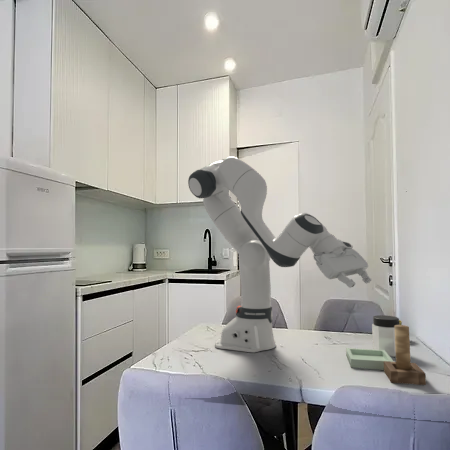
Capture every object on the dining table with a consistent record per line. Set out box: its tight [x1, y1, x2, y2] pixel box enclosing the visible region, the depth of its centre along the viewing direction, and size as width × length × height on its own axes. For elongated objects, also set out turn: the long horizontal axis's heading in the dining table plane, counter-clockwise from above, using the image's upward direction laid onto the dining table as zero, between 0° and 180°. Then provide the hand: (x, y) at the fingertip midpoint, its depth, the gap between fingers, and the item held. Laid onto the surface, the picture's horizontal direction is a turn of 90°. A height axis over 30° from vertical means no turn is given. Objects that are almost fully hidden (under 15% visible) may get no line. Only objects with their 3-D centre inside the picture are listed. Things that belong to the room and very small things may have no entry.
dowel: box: [394, 324, 412, 370], centre depth 95 cm, size 4×4×14 cm
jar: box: [371, 314, 400, 358], centre depth 118 cm, size 9×8×12 cm
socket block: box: [383, 361, 427, 386], centre depth 95 cm, size 8×8×3 cm
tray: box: [345, 347, 395, 371], centre depth 108 cm, size 12×12×2 cm
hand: (361, 283), depth 103 cm, fingers open, 8 cm apart
